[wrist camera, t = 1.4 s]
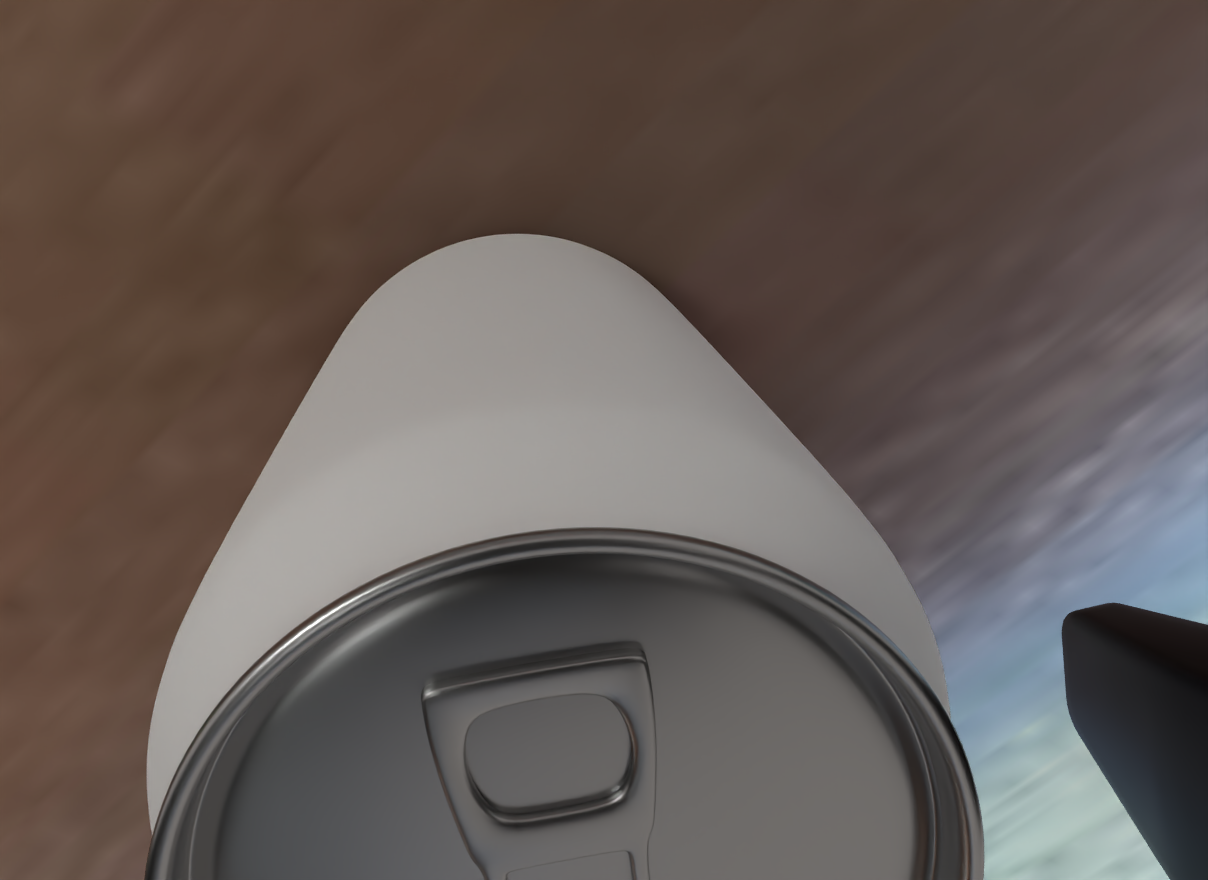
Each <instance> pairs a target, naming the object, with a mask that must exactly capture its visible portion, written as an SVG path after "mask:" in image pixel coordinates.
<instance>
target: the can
mask: <svg viewBox="0 0 1208 880" xmlns="http://www.w3.org/2000/svg"><path fill="white" fill-rule="evenodd" d="M147 797H148V807H149V817H150V825H151V832H152V839H151V843H150V848H149V853H148V857H147V864H146V871H145V878H144V880H983V878H984V836H983V825H982V816H981V810H980V804H979V799H978V794H977V790H976V786H975V782H974V778H973V775H972V771H971V768H970V765H969V762H968V759H967V756H966V754H965V751H964V748H963V745H962V743H961V741H960V739H959V736H958V734H957V732H956V730H955V728H954V726H953V724H952V722H951V717H950V707H949V700H948V692H947V685H946V680H945V675H944V669H943V665H942V661H941V657H940V653H939V650H938V647H937V643H936V640H935V637H934V634H933V631H932V629H931V626H930V623H929V621H928V618H927V616H926V614H925V612H924V609H923V607H922V605H921V603H920V601H919V599H918V597H917V595H916V593H915V591H914V589H913V587H912V586H911V584H910V582H909V580H908V579H907V577H906V575H905V573H904V572H903V570H902V568H901V566H900V565H899V563H898V561H897V560H896V558H895V556H894V555H893V553H892V552H891V550H890V549H889V547H888V546H887V544H886V543H885V542H884V540H883V539H882V537H881V536H880V535H879V533H878V532H877V531H876V529H875V528H874V527H873V526H872V524H871V523H870V522H869V521H868V519H867V518H866V517H865V516H864V515H863V513H862V512H861V511H860V510H859V508H858V507H857V506H856V505H855V503H854V502H853V501H852V500H851V499H850V497H849V496H848V495H847V494H846V493H845V491H844V490H843V489H842V488H841V487H840V486H839V485H838V483H837V482H836V481H835V480H834V479H833V478H832V477H831V476H830V474H829V473H828V472H827V471H826V470H825V469H824V468H823V467H822V465H821V464H820V463H819V462H818V461H817V460H816V459H815V458H814V456H813V455H812V454H811V453H810V452H809V451H808V450H807V449H806V448H805V446H804V445H803V444H802V443H801V442H800V441H799V440H798V439H797V438H796V437H795V436H794V434H793V433H792V432H791V431H790V430H789V429H788V428H787V427H786V426H785V425H784V423H783V422H782V421H781V420H780V419H779V418H778V417H777V416H776V415H775V414H774V412H773V411H772V410H771V409H770V408H769V407H768V406H767V405H766V404H765V403H764V402H763V401H762V399H761V398H760V397H759V396H758V395H757V394H756V393H755V392H754V391H753V390H752V389H751V388H750V386H749V385H748V384H747V383H746V382H745V381H744V380H743V379H742V378H741V377H740V376H739V375H738V373H737V372H736V371H735V370H734V369H733V368H732V367H731V366H730V365H729V364H728V363H727V362H726V360H725V359H724V358H723V357H722V356H721V355H720V354H719V353H718V352H717V351H716V350H715V349H714V348H713V347H712V345H711V344H710V343H709V342H708V341H707V340H706V339H705V338H704V337H703V336H702V335H701V334H700V333H699V332H698V331H697V329H696V328H695V327H694V326H693V325H692V324H691V323H690V322H689V321H688V320H687V319H686V318H685V317H684V316H683V315H682V314H681V313H680V312H679V311H678V310H677V308H676V307H675V306H674V305H673V304H672V303H671V302H670V301H669V300H668V299H667V298H666V297H664V296H663V295H662V294H661V293H660V292H659V291H658V290H657V289H656V288H655V287H654V286H653V285H651V284H650V283H649V282H648V281H647V280H646V279H644V278H643V277H642V276H641V275H639V274H638V273H637V272H635V271H634V270H632V269H631V268H629V267H628V266H626V265H625V264H623V263H621V262H620V261H618V260H616V259H614V258H613V257H611V256H609V255H607V254H605V253H602V252H600V251H598V250H596V249H593V248H591V247H588V246H585V245H582V244H579V243H576V242H573V241H569V240H565V239H561V238H556V237H550V236H543V235H534V234H501V235H491V236H484V237H479V238H474V239H470V240H466V241H462V242H458V243H455V244H452V245H449V246H447V247H444V248H442V249H439V250H437V251H435V252H432V253H430V254H428V255H426V256H424V257H422V258H420V259H419V260H417V261H415V262H413V263H412V264H410V265H409V266H407V267H405V268H404V269H402V270H401V271H400V272H398V273H397V274H396V275H394V276H393V277H392V278H390V279H389V280H388V281H387V282H386V283H384V284H383V285H382V286H381V287H380V288H379V289H378V290H377V291H376V292H375V293H374V294H373V295H372V296H371V297H370V298H369V299H368V300H367V301H366V302H365V303H364V305H363V306H362V307H361V308H360V309H359V311H358V312H357V313H356V315H355V316H354V317H353V319H352V320H351V321H350V323H349V324H348V326H347V327H346V329H345V330H344V332H343V333H342V335H341V336H340V338H339V340H338V341H337V343H336V344H335V346H334V348H333V349H332V351H331V353H330V354H329V356H328V358H327V360H326V361H325V363H324V365H323V366H322V368H321V370H320V371H319V373H318V375H317V376H316V378H315V380H314V382H313V383H312V385H311V387H310V389H309V390H308V392H307V394H306V395H305V397H304V399H303V401H302V402H301V404H300V406H299V408H298V409H297V411H296V413H295V415H294V416H293V418H292V420H291V421H290V423H289V425H288V427H287V429H286V430H285V432H284V434H283V436H282V437H281V439H280V441H279V443H278V444H277V446H276V448H275V450H274V451H273V453H272V455H271V457H270V458H269V460H268V462H267V464H266V465H265V467H264V469H263V471H262V472H261V474H260V476H259V478H258V480H257V481H256V483H255V485H254V487H253V489H252V490H251V492H250V494H249V496H248V497H247V499H246V501H245V503H244V505H243V506H242V508H241V510H240V512H239V514H238V515H237V517H236V519H235V521H234V522H233V524H232V526H231V528H230V530H229V532H228V533H227V535H226V537H225V539H224V541H223V543H222V545H221V546H220V548H219V550H218V552H217V554H216V556H215V557H214V559H213V561H212V563H211V565H210V567H209V569H208V570H207V572H206V574H205V576H204V578H203V580H202V582H201V584H200V586H199V588H198V590H197V592H196V594H195V596H194V598H193V600H192V602H191V604H190V606H189V609H188V611H187V613H186V615H185V617H184V619H183V621H182V624H181V626H180V628H179V630H178V632H177V635H176V638H175V640H174V643H173V645H172V648H171V651H170V654H169V657H168V660H167V663H166V666H165V669H164V672H163V676H162V679H161V682H160V686H159V689H158V693H157V697H156V701H155V705H154V710H153V715H152V720H151V726H150V733H149V740H148V752H147Z"/></svg>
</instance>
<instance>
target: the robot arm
mask: <svg viewBox="0 0 1208 880" xmlns="http://www.w3.org/2000/svg"><path fill="white" fill-rule="evenodd" d="M1062 645H1063V658H1064V672H1065V686H1066V699H1067V706H1068V710H1069V714H1070V717H1071V720H1072V722H1073V724H1074V727H1075V729H1076V731H1077V732H1078V734H1079V736H1080V737H1081V739H1082V741H1083V742H1084V744H1085V745H1086V747H1087V749H1088V750H1089V752H1090V753H1091V755H1092V757H1093V758H1094V760H1095V761H1096V763H1097V765H1098V766H1099V768H1100V769H1101V771H1102V772H1103V774H1104V776H1105V777H1106V779H1107V780H1108V782H1109V784H1110V785H1111V787H1112V788H1113V790H1114V792H1115V793H1116V795H1117V796H1118V798H1119V800H1120V801H1121V803H1122V804H1123V806H1124V808H1125V809H1126V811H1127V812H1128V814H1129V816H1130V817H1131V819H1132V820H1133V822H1134V824H1135V825H1136V827H1137V828H1138V830H1139V832H1140V833H1141V835H1142V836H1143V838H1144V840H1145V841H1146V843H1147V844H1148V846H1149V848H1150V849H1151V851H1152V852H1153V854H1154V856H1155V857H1156V859H1157V860H1158V862H1159V863H1160V865H1161V866H1162V868H1163V869H1164V871H1165V872H1166V874H1167V875H1168V877H1169V878H1170V880H1208V625H1206V624H1202V623H1198V622H1194V621H1189V620H1185V619H1181V618H1177V617H1173V616H1169V615H1165V614H1161V613H1157V612H1153V611H1148V610H1144V609H1140V608H1136V607H1132V606H1128V605H1124V604H1120V603H1106V604H1102V605H1098V606H1093V607H1089V608H1085V609H1080V610H1076V611H1073V612H1071V613H1069V614H1068V615H1067V616H1066V617H1065V619H1064V621H1063V626H1062Z"/></svg>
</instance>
